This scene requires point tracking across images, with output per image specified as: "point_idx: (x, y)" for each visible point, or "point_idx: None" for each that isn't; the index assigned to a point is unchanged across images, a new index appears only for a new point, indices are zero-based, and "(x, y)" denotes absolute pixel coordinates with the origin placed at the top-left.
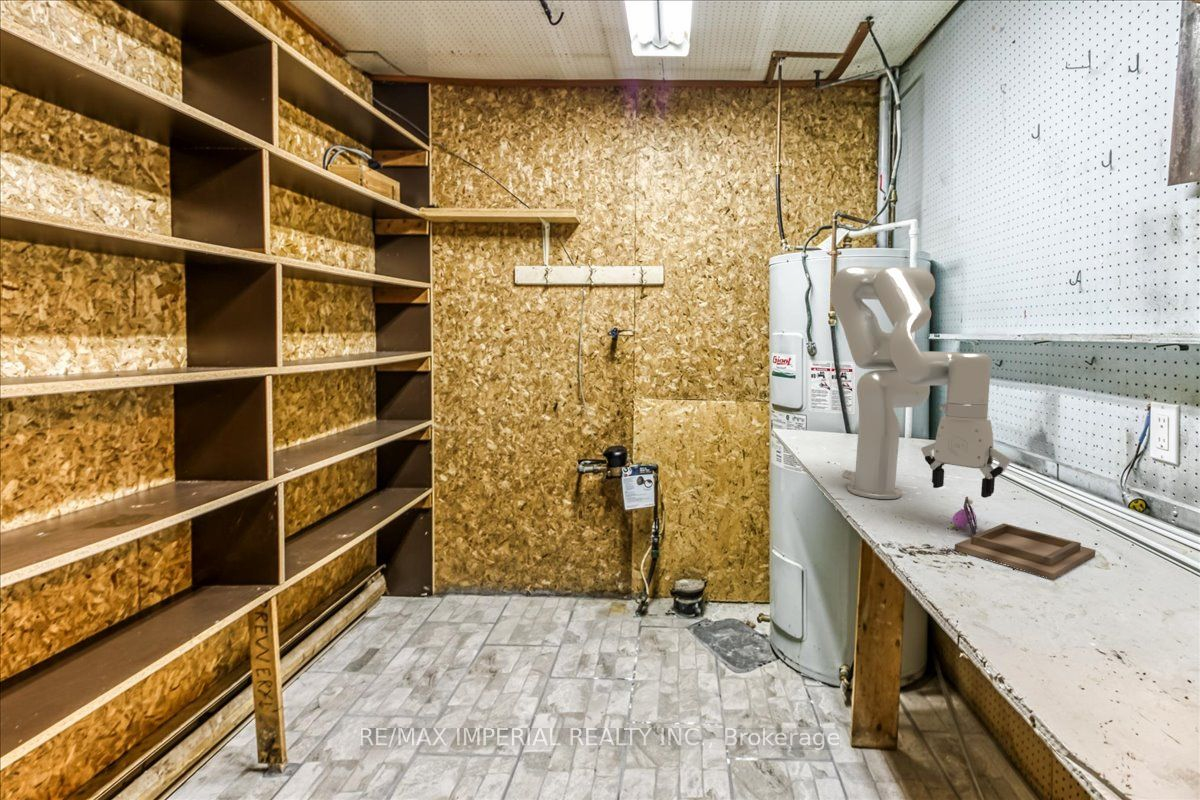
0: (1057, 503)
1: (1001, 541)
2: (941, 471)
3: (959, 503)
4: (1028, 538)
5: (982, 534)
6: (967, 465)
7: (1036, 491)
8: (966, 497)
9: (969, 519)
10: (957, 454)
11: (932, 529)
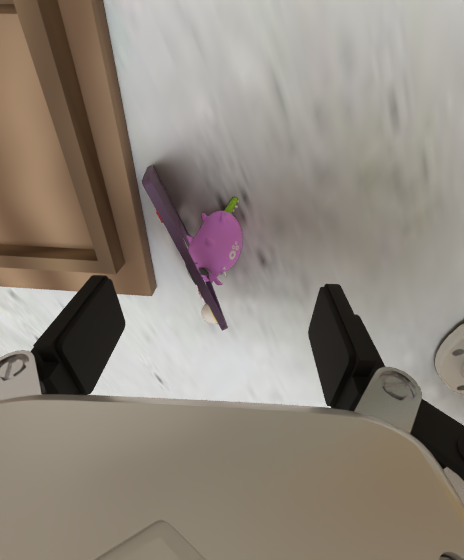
0: None
1: (50, 148)
2: (333, 383)
3: (303, 392)
4: (55, 246)
5: (39, 64)
6: (78, 405)
7: None
8: (220, 319)
9: (144, 174)
10: (152, 556)
11: (272, 135)
